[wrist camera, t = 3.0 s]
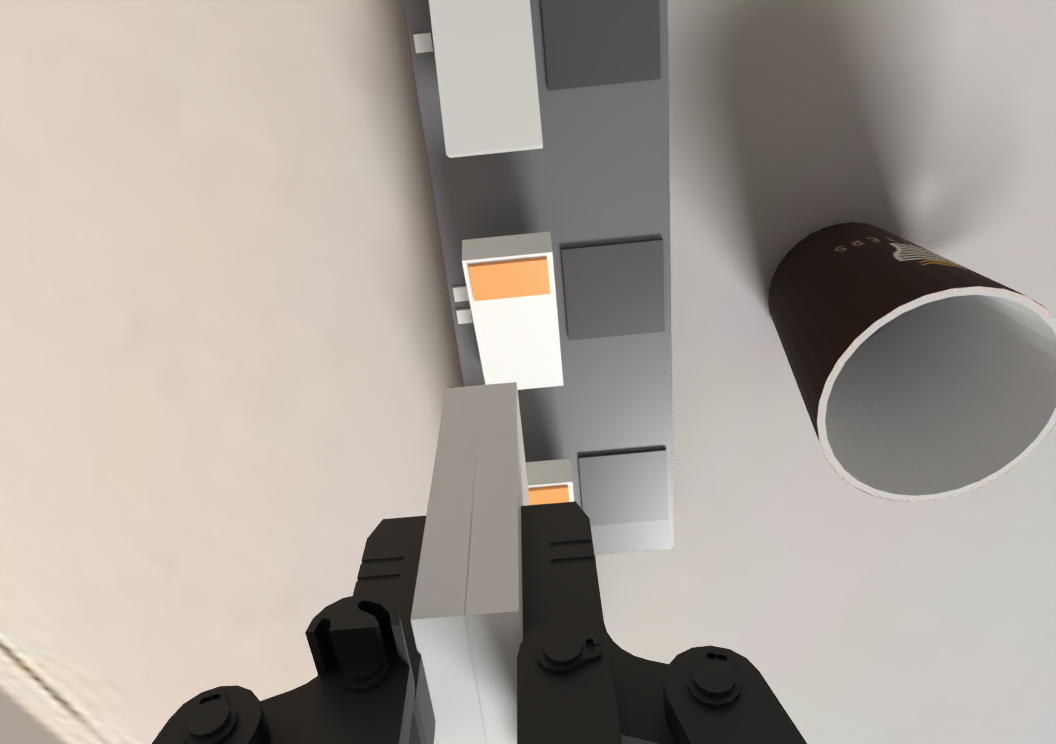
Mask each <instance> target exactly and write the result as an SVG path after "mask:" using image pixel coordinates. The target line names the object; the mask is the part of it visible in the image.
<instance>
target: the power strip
mask: <svg viewBox="0 0 1056 744" xmlns="http://www.w3.org/2000/svg"><path fill="white" fill-rule="evenodd" d="M402 1H403V7H404V13H405V20H406V26H407V32H408V39H409V45H410V51H411V57H412V64H413V70H414V76H415V83H416V89H417V95H418V102H419V108H420V114H421V120H422V127H423V133H424V139H425V146H426V152H427V158H428V165H429V171H430V177H431V184H432V190H433V196H434V202H435V209H436V215H437V221H438V228H439V234H440V240H441V247H442V253H443V259H444V265H445V272H446V278H447V284H448V291H449V297H450V303H451V310H452V316H453V322H454V328H455V335H456V341H457V347H458V354H459V360H460V366H461V373H462V379H463V385H464V387H465V386H477V385H485V380H484V374H483V369H482V364H481V359H480V353H479V348H478V343H477V338H476V333H475V327H474V322H473V317H472V312H471V306H470V301H469V296H468V291H467V286H466V280H465V275H464V270H463V265H462V240H468V239H478V238H488V237H499V236H509V235H519V234H529V233H539V232H549V231H550V234H551V244H552V254H553V266H554V278H555V290H556V302H557V314H558V326H559V337H560V349H561V361H562V373H563V385H564V386H554V387H543V388H532V389H521V390H518V399H519V408H520V417H521V426H522V435H523V444H524V453H525V462H536V461H547V460H558V459H570V462H571V472H572V482H573V494H574V501H576V502H577V504H578V505H579V506H580V507H581V509H582V510H583V511H584V512H585V514H586V515H587V516H588V517H589V519H590V526H591V533H592V541H593V548H594V555H600V554H612V553H624V552H636V551H647V550H659V549H671V548H674V527H673V443H672V359H671V276H670V192H669V108H668V25H667V0H530V8H531V19H532V30H533V41H534V52H535V63H536V74H537V85H538V96H539V107H540V118H541V129H542V140H543V148H542V149H532V150H522V151H512V152H503V153H493V154H483V155H474V156H464V157H454V158H450V157H448V156H447V155H446V149H445V140H444V131H443V122H442V113H441V105H440V96H439V87H438V78H437V69H436V60H435V52H434V43H433V34H432V25H431V16H430V7H429V0H402ZM595 562H596V560H595Z"/></svg>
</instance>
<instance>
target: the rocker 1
mask: <svg viewBox="0 0 1056 744" xmlns="http://www.w3.org/2000/svg"><path fill="white" fill-rule="evenodd" d="M429 7H430V16H431V25H432V34H433V43H434V52H435V60H436V69H437V78H438V87H439V96H440V105H441V113H442V122H443V131H444V140H445V149H446V155H447V156H448V157H450V158H454V157H464V156H474V155H483V154H493V153H503V152H512V151H522V150H532V149H542V148H543V140H542V129H541V118H540V107H539V96H538V85H537V74H536V63H535V52H534V41H533V30H532V19H531V8H530V0H429Z"/></svg>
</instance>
